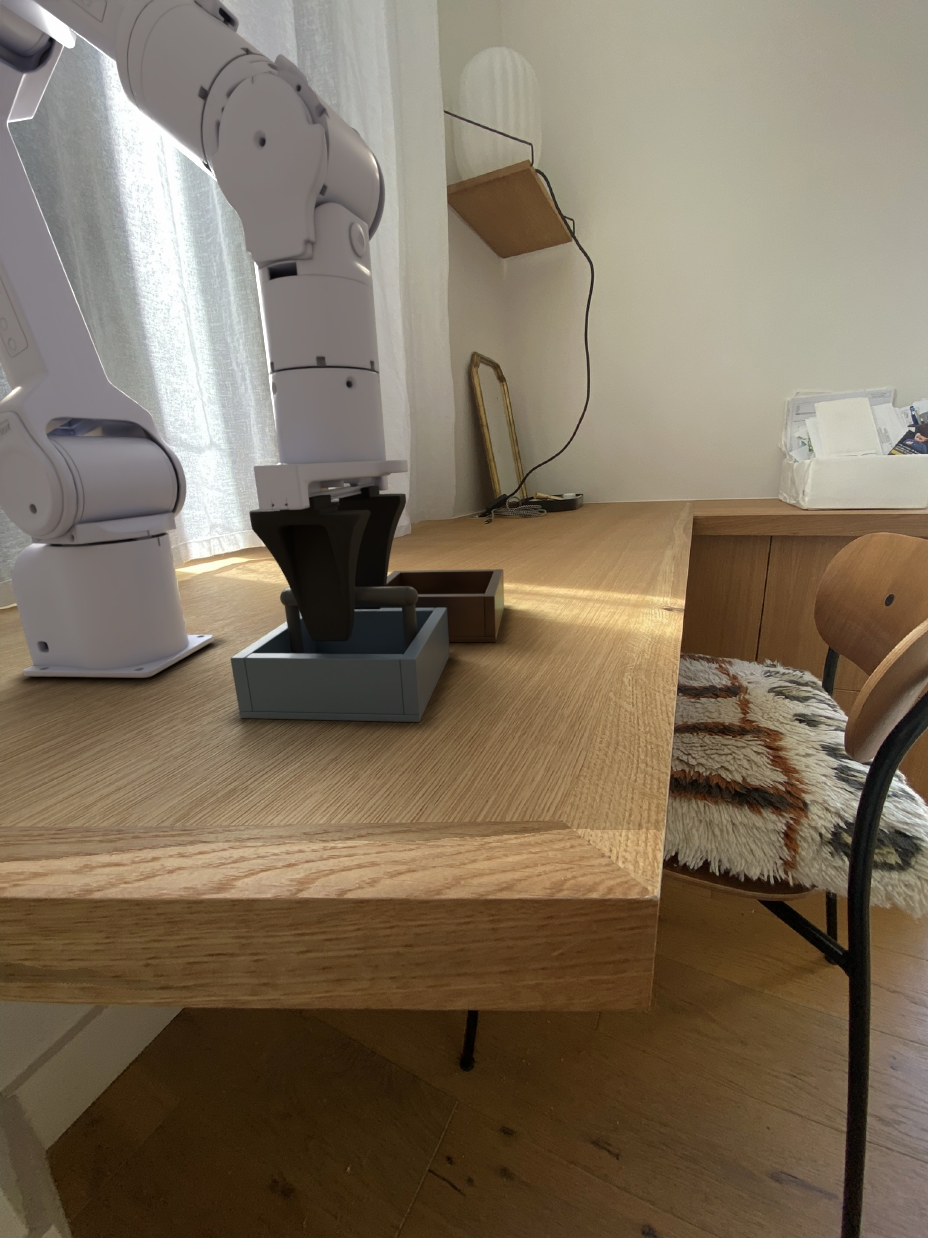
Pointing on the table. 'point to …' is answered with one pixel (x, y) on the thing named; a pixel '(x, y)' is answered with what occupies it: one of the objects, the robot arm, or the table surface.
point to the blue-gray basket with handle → (347, 663)
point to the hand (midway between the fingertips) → (350, 622)
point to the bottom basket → (459, 599)
